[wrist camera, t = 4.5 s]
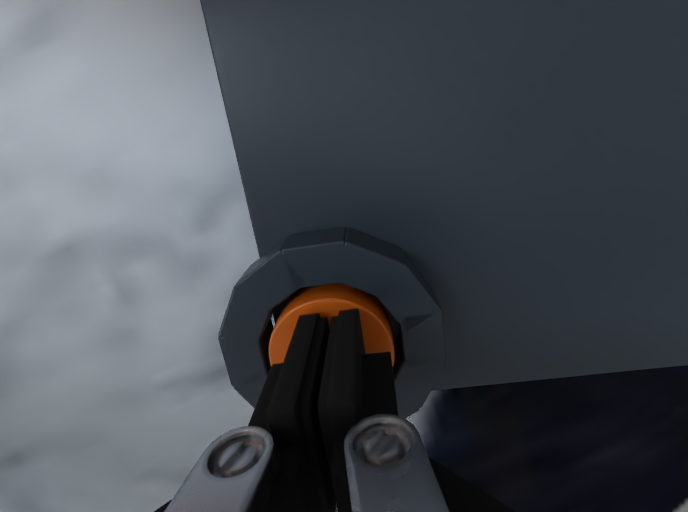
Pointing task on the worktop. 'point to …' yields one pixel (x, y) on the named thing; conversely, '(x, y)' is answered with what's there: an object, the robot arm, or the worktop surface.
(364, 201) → the scale
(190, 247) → the worktop surface
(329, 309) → the button
